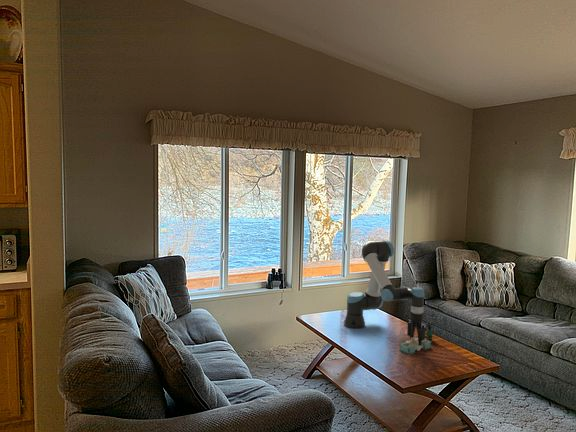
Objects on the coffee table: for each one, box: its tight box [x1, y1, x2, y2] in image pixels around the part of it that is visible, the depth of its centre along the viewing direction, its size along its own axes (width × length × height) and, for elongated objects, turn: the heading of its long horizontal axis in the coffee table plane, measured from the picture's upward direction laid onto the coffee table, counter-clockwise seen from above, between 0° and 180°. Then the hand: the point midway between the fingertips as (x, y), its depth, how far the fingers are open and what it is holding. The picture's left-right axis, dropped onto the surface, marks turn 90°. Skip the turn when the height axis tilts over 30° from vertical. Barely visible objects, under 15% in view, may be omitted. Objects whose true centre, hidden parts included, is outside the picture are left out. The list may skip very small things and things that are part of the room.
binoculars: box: [425, 323, 434, 343], centre depth 288 cm, size 9×11×10 cm
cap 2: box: [421, 339, 432, 350], centre depth 277 cm, size 8×6×4 cm
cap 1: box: [399, 342, 416, 355], centre depth 268 cm, size 8×6×4 cm
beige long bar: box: [404, 337, 426, 351], centre depth 272 cm, size 4×16×5 cm, turn 127°
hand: (415, 348), depth 272 cm, fingers closed on beige long bar, 4 cm apart
